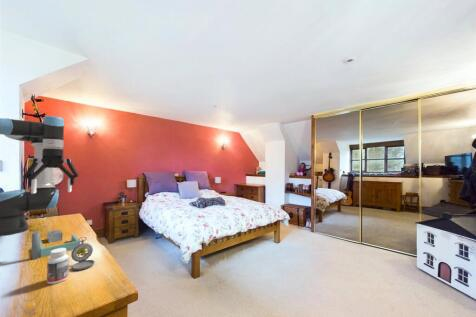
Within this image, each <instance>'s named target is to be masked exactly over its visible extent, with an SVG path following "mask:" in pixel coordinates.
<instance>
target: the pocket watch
mask: <svg viewBox="0 0 476 317" xmlns="http://www.w3.org/2000/svg"><path fill="white" fill-rule="evenodd" d="M82 238H85V239H82ZM80 239H81V240H80ZM79 240H80V244H79V245H77V246H76V247H75V248H74V249H73V250H71V254H70V255H71V256H70V257H71V259H72V260H73V261H74V262H75V263H74V264H73V265H72V267H71V268H72V269H73V270H75V271H81V270H85V269H89V268H90V267H92V266H93V265H94V264H95V260H94V259H89V258H90V257H91V256H92V254H93V252H94V248H93V246H92V245H91V244H90V243H88V242H85V241H87V237H86V236H82V237H80V238H78V241H79Z"/></svg>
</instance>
